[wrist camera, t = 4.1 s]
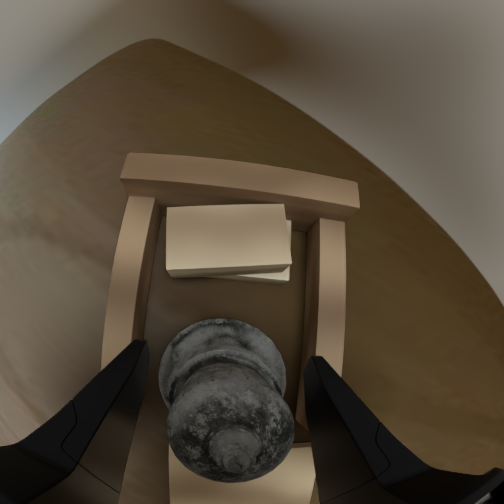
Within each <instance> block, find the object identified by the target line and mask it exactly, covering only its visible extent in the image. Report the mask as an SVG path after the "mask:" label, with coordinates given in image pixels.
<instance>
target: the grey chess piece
mask: <svg viewBox="0 0 504 504" xmlns="http://www.w3.org/2000/svg"><path fill="white" fill-rule="evenodd" d="M158 377H159V388H160V392H161V394H162V397H163V400H164V402H165V405H166V406H167V407H168V409H169V412H168V417H167V423H166V428H167V435H168V441H169V444H170V447H171V449H172V451H173V453H174V455H175V456H176V457H177V459H178V460H179V461H180V462H181V463H182V464H183V465H184V466H185V467H186V468H187V469H189V470H190V471H192V472H193V473H195V474H197V475H198V476H201V477H203V478H206V479H209V480H212V481H217V482H223V483H239V482H247V481H250V480H254V479H257V478H260V477H262V476H264V475H266V474H268V473H269V472H271V471H273V470H274V469H275V468H276V467H277V466H278V465H280V464H281V463H282V462H283V461H284V459H285V458H286V456H287V455H288V453H289V451H290V450H291V447H292V444H293V440H294V437H295V431H294V419H293V416H292V413H291V411H290V408H289V405H288V404H287V403H286V401H285V400H284V399H283V397H284V392H285V388H286V368H285V365H284V362H283V359H282V356H281V354H280V352H279V351H278V349H277V348H276V346H275V345H274V343H273V342H272V340H271V339H270V338H268V337H267V336H266V335H265V334H264V333H263V332H262V331H260V330H259V329H257V328H255V327H253V326H251V325H249V324H247V323H245V322H243V321H238V320H234V319H229V318H216V319H207V320H204V321H201V322H197V323H194V324H192V325H191V326H189V327H187V328H186V329H184V330H182V331H181V332H179V333H178V334H177V336H176V337H175V338H174V339H173V340H172V341H171V342H170V343H169V344H168V346H167V348H166V350H165V352H164V354H163V356H162V358H161V362H160V367H159V372H158Z"/></svg>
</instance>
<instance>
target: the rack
mask: <svg viewBox="0 0 504 504" xmlns="http://www.w3.org/2000/svg"><path fill="white" fill-rule="evenodd" d="M120 180H121V181H122V183H123V185H124V187H125V189H126V191H127V192H128V194H129V199H128V203H127V206H126V210H125V214H124V218H123V222H122V226H121V230H120V235H119V239H118V244H117V248H116V253H115V258H114V264H113V269H112V275H111V280H110V286H109V293H108V300H107V307H106V315H105V324H104V334H103V345H102V359H101V371H102V370H103V369H104V368H105V367H106V366H107V365H108V364H109V363H110V362H111V361H112V360H113V359H114V358H115V357H116V356H117V355H118V354H119V353H120V352H121V351H123V350H124V349H125V348H126V347H127V346H128V345H129V344H130V343H131V342H132V341H133V340H134V339H141V340H143V335H144V325H145V316H146V308H147V300H148V293H149V286H150V279H151V272H152V266H153V260H154V254H155V249H156V243H157V238H158V233H159V228H160V223H161V218H162V215H167V207H185V206H207V205H239V204H284V208H285V215H286V220H290V221H291V230H295V231H302V232H307V260H306V290H305V311H304V328H303V343H302V357H301V369H300V380H299V391H298V400H297V410H296V418H295V419H296V420H297V421H298V422H299V423H300V424H301V425H302V426H303V427H304V428H305V429H306V430H307V431H308V425H307V419H306V413H305V398H304V379H303V372H304V368H305V366H306V364H307V362H308V360H309V358H310V356H322V357H324V359H325V360H326V361H327V362H328V363H329V364H330V365H331V367H332V368H333V369H334V370H335V371H336V372H337V373H338V375H339V376H340V377H341V375H342V363H343V350H344V333H345V308H346V247H345V221H346V220H347V219H348V218H350V217H351V216H352V215H353V214H354V213H355V212H356V211H357V210H358V209H359V208H360V203H359V193H358V183H357V182H353V181H348V180H344V179H339V178H335V177H330V176H325V175H320V174H315V173H309V172H304V171H299V170H293V169H287V168H281V167H275V166H268V165H261V164H254V163H247V162H239V161H231V160H223V159H213V158H203V157H192V156H180V155H165V154H146V153H128V155H127V158H126V161H125V164H124V167H123V169H122V172H121V175H120ZM308 432H309V431H308Z"/></svg>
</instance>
